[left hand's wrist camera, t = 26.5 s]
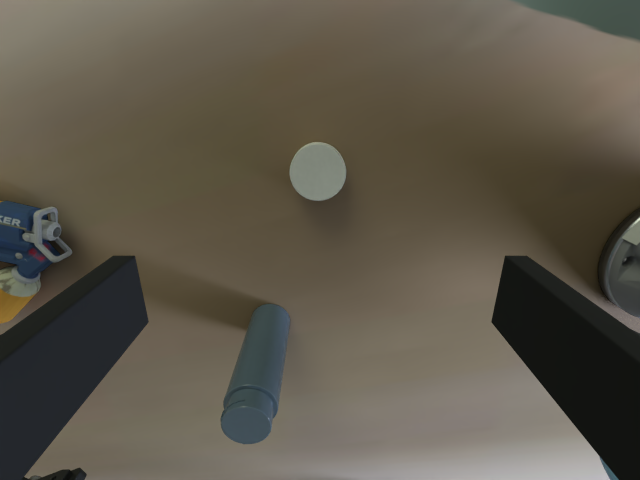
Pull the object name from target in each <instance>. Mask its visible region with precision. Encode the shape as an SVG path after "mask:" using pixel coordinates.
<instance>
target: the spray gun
mask: <svg viewBox="0 0 640 480" xmlns="http://www.w3.org/2000/svg"><path fill="white" fill-rule="evenodd" d="M48 213H50V215H51V221H48V216H47V214H48ZM61 230H62V229H61V227H60V224H59V223H58V211H57V208H55V207H48V208H45V209H40V208H36V207H32V206H27V205H23V204H19V203H14V202H10V201H0V261H2V262H7V263H12V264H16V266H10V267H5V268H3V269H1V270H0V323H5V322H8V321H10V320H12V319H13V318H14V317H15V316H16V315H17V313H18V312H19V311H20V310H21V309H22V308H23V307H24V306H25V305H26V304H27V303H28V302H29V301H30V300H31V299H32V298H33V297H34V296H35V295H36V294H37V293H38V292H39V290H40V287H41V283H40V275H41V274H40V272H41V271H43V270H45V269H46V268H47V267H48V266H49V265H51V264H52V263H53V262H59V261H61V260H63V259H64V258H66V257H68V256H70V255H71V254H72V250H71V249H70V248H69V247H68V246H67V245H66V244H65V243H64V242H63V241H62V240H61V239H60V238H59V236H60V234H61ZM48 240H50V241H51V240H54V241H55V242H56V243H57V244H58V245H59V246H60V247H61V248H62V249H63V250H64V251H65V253H64V254H62V255H60V253H59V252H58V251H57V250H56V249H55V248H54V247H53V246H52V245H51V244H50V243H49V242H48Z"/></svg>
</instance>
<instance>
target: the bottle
mask: <svg viewBox="0 0 640 480" xmlns="http://www.w3.org/2000/svg"><path fill="white" fill-rule="evenodd" d="M289 327H290V317H289V315H288V313H287V312H286V310H285V309H283V308H282V307H280V306H278V305H275V304H265V305H262V306H260V307H258V308H257V309H256V310H255V311H254V312H253V314H252V316H251V320H250V323H249V326H248V329H247V332H246V335H245V338H244V341H243V344H242V347H241V350H240V353H239V356H238V359H237V362H236V365H235V368H234V371H233V374H232V377H231V380H230V383H229V386H228V389H227V392H226V395H225V398H224V404H223V405H224V411H223V413H222V416H221V427H222V430H223V432H224V433H225V435H226V436H227V437H228V438H230V439H231V440H233V441H235V442H238V443H242V444H254V443H258V442H260V441H262V440H264V439H265V438H266V437H267V436H268V435H269V433H270V431H271V427H272V421H273V418H274V417H275V415H276V414H277V411H278V406H279V398H280V391H281V384H282V377H283V370H284V363H285V356H286V348H287V341H288V334H289Z"/></svg>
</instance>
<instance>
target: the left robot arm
mask: <svg viewBox="0 0 640 480" xmlns="http://www.w3.org/2000/svg"><path fill="white" fill-rule="evenodd" d="M598 277H599V282H600V286H601V288H602V291H603V292H604V294H605V295H606V297H607V298H608V299H609V300H610V301H611V302H612V303H614V304H615V305H616V306H618V307H620V308H621V309H623V310H624V311H626V312H627V313H629V314H631V315H633V316H636V317H638V318H640V208H639V209H637V210H636V211H635V212H633V213H632V214H631V215H630V216H628V217H627V218H626V219H625V220H624V221H623V222H622V223H621V224H620V225H619V226H618V227H617V228H616V230H615V231H614V232H613V234H612V235H611V236H610V238H609V240H608V241H607V243H606V245H605V247H604V249H603V251H602V254H601V257H600V261H599V268H598ZM147 323H148V317H147V312H146V307H145V302H144V298H143V293H142V288H141V283H140V278H139V274H138V269H137V264H136V259H135V256H112V257H111V258H109V259H108V260H107V261H105V262H104V263H102V264H101V265H100V266H98V267H97V268H95V269H94V270H93V271H91V272H90V273H88V274H87V275H85V276H84V277H83V278H81V279H80V280H78V281H77V282H76V283H74V284H73V285H71V286H70V287H69V288H67V289H66V290H64V291H63V292H61V293H60V294H59V295H57V296H56V297H54V298H53V299H52V300H50V301H49V302H47V303H46V304H44V305H43V306H42V307H40V308H39V309H37V310H36V311H35V312H33V313H32V314H30V315H29V316H28V317H26V318H25V319H23V320H22V321H20V322H19V323H18V324H16V325H15V326H13V327H12V328H11V329H9V330H8V331H6V332H5V333H4V334H2V335H0V480H22V478H23V477H24V476H25V475H26V473H27V472H28V471H29V470H30V468H31V467H32V466H33V465H34V463H35V462H36V461H37V460H38V458H39V457H40V456H41V455H42V454H43V452H44V451H45V450H46V449H47V447H48V446H49V445H50V444H51V442H52V441H53V440H54V439H55V437H56V436H57V435H58V434H59V432H60V431H61V430H62V429H63V427H64V426H65V425H66V424H67V423H68V421H69V420H70V419H71V418H72V416H73V415H74V414H75V413H76V411H77V410H78V409H79V408H80V406H81V405H82V404H83V403H84V401H85V400H86V399H87V398H88V396H89V395H90V394H91V393H92V392H93V390H94V389H95V388H96V387H97V385H98V384H99V383H100V382H101V380H102V379H103V378H104V377H105V375H106V374H107V373H108V372H109V370H110V369H111V368H112V367H113V365H114V364H115V363H116V362H117V361H118V359H119V358H120V357H121V356H122V354H123V353H124V352H125V351H126V349H127V348H128V347H129V346H130V344H131V343H132V342H133V341H134V339H135V338H136V337H137V336H138V335H139V333H140V332H141V331H142V330H143V328H144V327H145V326H146V325H147ZM492 323H493V325H494V326H495V327H496V328H497V330H498V331H499V332H500V333H501V335H502V336H503V337H504V338H505V339H506V341H507V342H508V343H509V344H510V346H511V347H512V348H513V349H514V351H515V352H516V353H517V354H518V356H519V357H520V358H521V359H522V361H523V362H524V363H525V364H526V365H527V367H528V368H529V369H530V370H531V372H532V373H533V374H534V375H535V377H536V378H537V379H538V380H539V382H540V383H541V384H542V385H543V387H544V388H545V389H546V390H547V392H548V393H549V394H550V395H551V396H552V398H553V399H554V400H555V401H556V403H557V404H558V405H559V406H560V408H561V409H562V410H563V411H564V413H565V414H566V415H567V416H568V418H569V419H570V420H571V421H572V423H573V424H574V425H575V426H576V427H577V429H578V430H579V431H580V432H581V434H582V435H583V436H584V437H585V439H586V440H587V441H588V442H589V444H590V445H591V446H592V447H593V449H594V450H595V451H596V452H597V454H598V455H599V456H600V460H601V462H602V464H603V467H604V469H605V471H606V473H607V474H608V476H609V478H610V480H640V333H637V332H635V331H633V330H631V329H629V328H628V327H627V326H625V325H624V324H622V323H621V322H620V321H618V320H617V319H615V318H614V317H612V316H611V315H610V314H608V313H607V312H605V311H604V310H603V309H601V308H600V307H598V306H597V305H595V304H594V303H593V302H591V301H590V300H588V299H587V298H586V297H584V296H583V295H581V294H580V293H579V292H577V291H576V290H574V289H573V288H571V287H570V286H569V285H567V284H566V283H564V282H563V281H562V280H560V279H559V278H557V277H556V276H555V275H553V274H552V273H550V272H549V271H547V270H546V269H545V268H543V267H542V266H540V265H539V264H538V263H536V262H535V261H533V260H532V259H531V258H529V257H528V256H505V259H504V264H503V269H502V274H501V278H500V283H499V288H498V293H497V298H496V302H495V307H494V312H493V317H492Z"/></svg>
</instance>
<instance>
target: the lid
mask: <svg viewBox="0 0 640 480" xmlns="http://www.w3.org/2000/svg"><path fill="white" fill-rule="evenodd" d="M290 179H291V183H292V185H293V187H294V188H295V190H296V191H297V192H298V193H299V194H300V195H302V196H303V197H305V198H307V199H310V200H314V201H322V200H327V199H329V198H331V197H333V196H334V195H336V194H337V193H338V192H339V191H340V190H341V188H342V187H343V185H344V182H345V179H346V166H345V163H344V160H343V158H342V156H341V154H340V153H339V152H338V151H337V149H335V148H334V147H333V146H331V145H329V144H327V143H323V142H313V143H309V144H307V145H305V146H303V147H302V148H301V149H300V150H299V151H298V152H297V153H296V154H295V156H294V158H293V160H292V162H291V165H290Z"/></svg>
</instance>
